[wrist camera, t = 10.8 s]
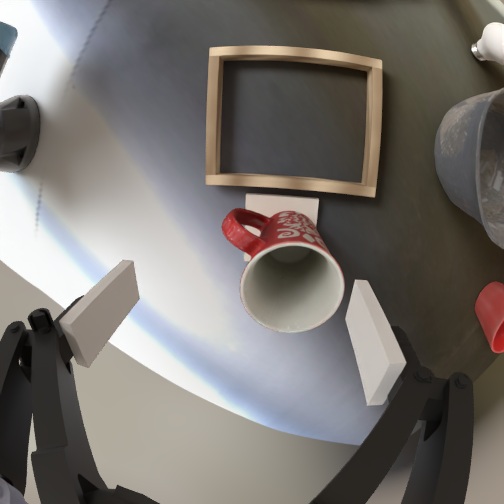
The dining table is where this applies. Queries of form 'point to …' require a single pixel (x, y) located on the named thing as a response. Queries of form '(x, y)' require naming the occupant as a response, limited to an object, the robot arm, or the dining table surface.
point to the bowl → (475, 160)
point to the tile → (279, 208)
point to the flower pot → (492, 314)
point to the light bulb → (490, 44)
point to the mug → (285, 270)
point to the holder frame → (295, 55)
